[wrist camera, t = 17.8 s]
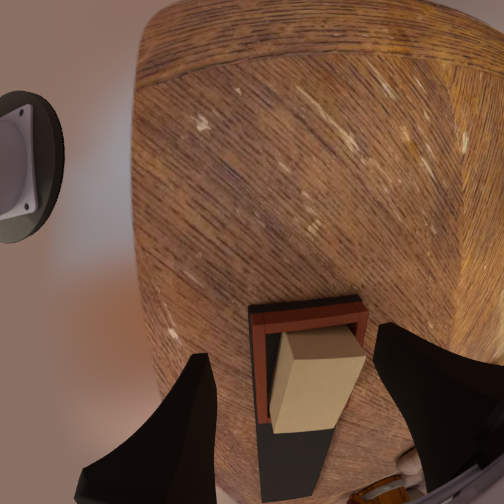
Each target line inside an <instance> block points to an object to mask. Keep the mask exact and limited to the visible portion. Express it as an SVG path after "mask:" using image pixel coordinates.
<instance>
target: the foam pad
mask: <svg viewBox="0 0 504 504" xmlns="http://www.w3.org/2000/svg"><path fill="white" fill-rule="evenodd" d="M366 357H367V355H366V354H365V352H364V351H363V349H362V348H361V346H360V344H359V343H358V341H357V340H356V338H355V337H354V335H353V334H352V332H351V331H350V329H349V327H348V326H347V324H342V325H335V326H329V327H321V328H314V329H306V330H298V331H290V332H281V336H280V341H279V346H278V351H277V356H276V361H275V366H274V371H273V376H272V381H271V385H270V390H269V394H268V403H269V409H270V415H271V421H272V427H273V433H292V432H304V431H314V430H323V429H331V428H334V426H335V424H336V423H337V421H338V419H339V417H340V415H341V413H342V411H343V409H344V407H345V405H346V403H347V400H348V398H349V396H350V394H351V392H352V390H353V388H354V385H355V383H356V381H357V379H358V376H359V374H360V372H361V369H362V367H363V365H364V362H365V360H366Z"/></svg>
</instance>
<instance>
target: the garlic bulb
mask: <svg viewBox="0 0 504 504" xmlns="http://www.w3.org/2000/svg"><path fill="white" fill-rule="evenodd" d="M396 467H397V469H398V470H399V471H401V472H403V473H404V474H406V475H416V474H419V473H420V474H421V477H422V480H423V483H425V479H424V474H423V469H422V466H421V462H420V459H419V455H418V452H417V449H416V447H415V448H414V449H413V450H411V451H410V452H408V453H407V454H406V455H404V456H402V457H401V458H400V459H398V461H397V463H396Z"/></svg>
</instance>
